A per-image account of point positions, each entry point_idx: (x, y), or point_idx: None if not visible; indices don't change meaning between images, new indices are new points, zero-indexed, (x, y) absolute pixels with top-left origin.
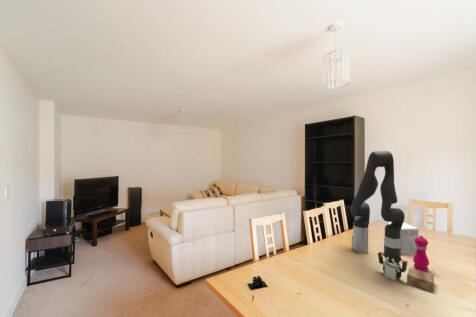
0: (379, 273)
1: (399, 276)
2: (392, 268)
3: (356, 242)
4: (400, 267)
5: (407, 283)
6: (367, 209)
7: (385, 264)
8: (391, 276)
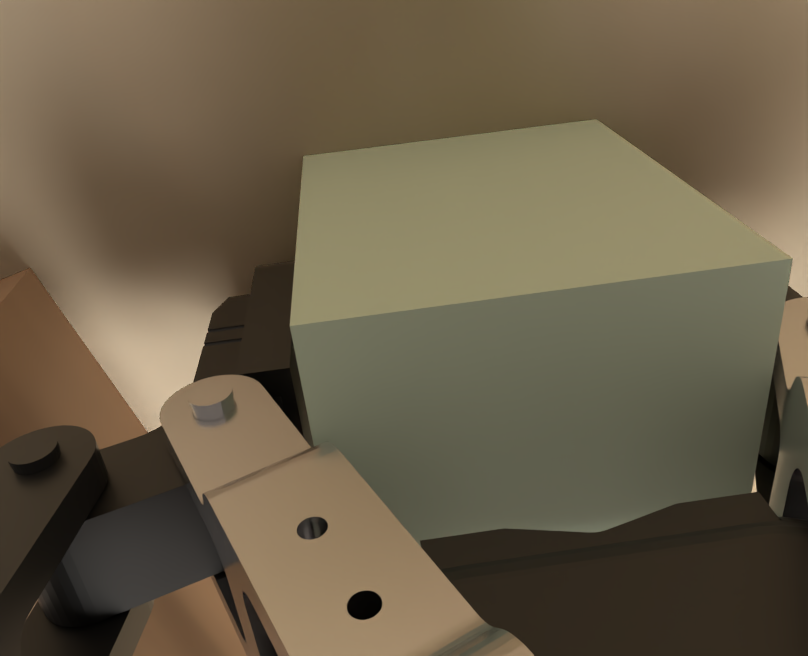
0: (749, 103)
1: (228, 320)
2: (406, 300)
3: None
4: (230, 617)
5: (9, 280)
6: None
7: (788, 363)
8: (407, 167)
